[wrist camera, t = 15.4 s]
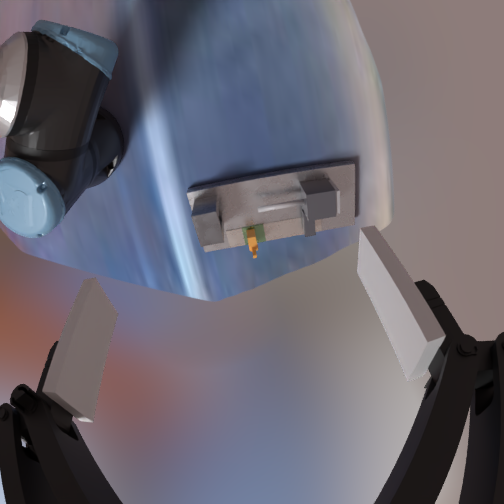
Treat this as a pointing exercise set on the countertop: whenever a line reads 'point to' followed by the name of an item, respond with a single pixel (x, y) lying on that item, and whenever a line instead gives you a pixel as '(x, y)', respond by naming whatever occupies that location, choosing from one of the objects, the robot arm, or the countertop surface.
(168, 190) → the countertop surface
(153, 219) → the countertop surface
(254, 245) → the orange peg piece
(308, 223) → the grey block with rod
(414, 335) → the robot arm
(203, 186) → the gauge board
